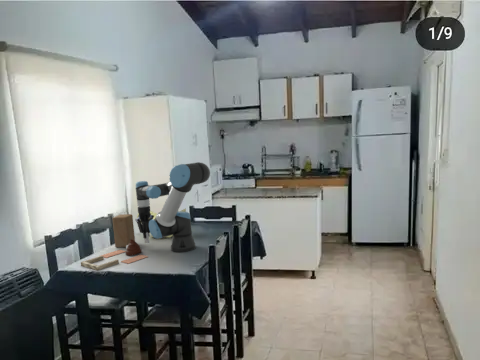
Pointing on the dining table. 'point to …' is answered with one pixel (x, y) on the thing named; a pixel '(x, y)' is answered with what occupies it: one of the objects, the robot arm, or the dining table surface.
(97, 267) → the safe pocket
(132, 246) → the poop emoji
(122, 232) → the wooden block
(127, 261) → the pads
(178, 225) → the robot arm
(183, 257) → the dining table surface
